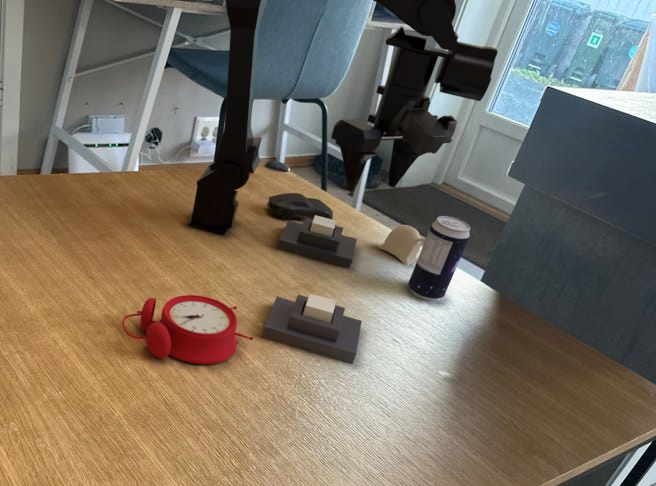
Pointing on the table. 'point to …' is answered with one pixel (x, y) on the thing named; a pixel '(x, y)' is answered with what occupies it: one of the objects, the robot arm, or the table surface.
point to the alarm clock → (190, 329)
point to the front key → (319, 308)
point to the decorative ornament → (403, 243)
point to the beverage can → (439, 258)
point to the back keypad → (318, 244)
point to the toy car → (298, 206)
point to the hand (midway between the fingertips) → (371, 188)
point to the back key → (323, 226)
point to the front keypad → (313, 330)
